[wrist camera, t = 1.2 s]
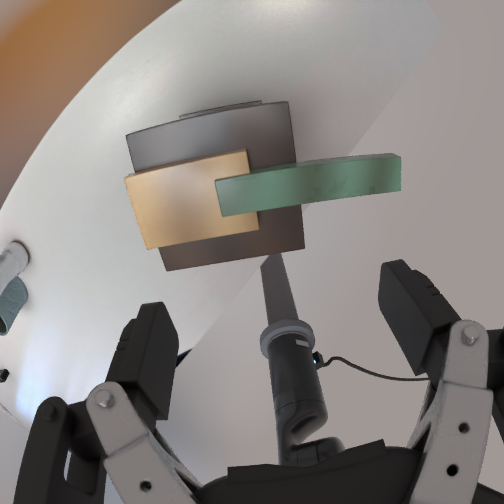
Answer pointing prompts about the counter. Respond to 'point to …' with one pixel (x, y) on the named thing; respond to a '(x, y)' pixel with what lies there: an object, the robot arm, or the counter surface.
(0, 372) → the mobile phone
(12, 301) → the blue-grey embossed cup
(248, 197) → the spatula
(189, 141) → the brown pedestal stand
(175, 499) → the robot arm
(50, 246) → the counter surface
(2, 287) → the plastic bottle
